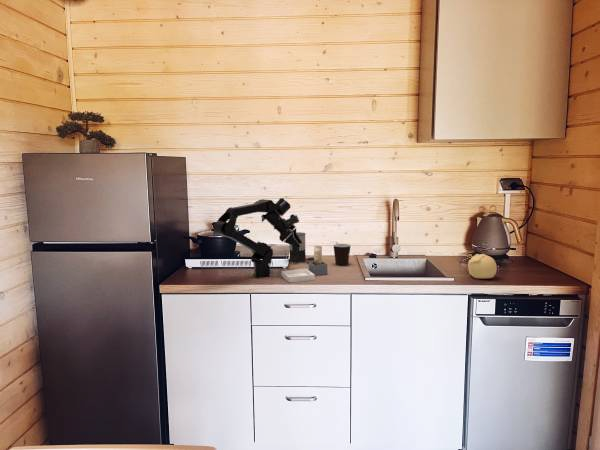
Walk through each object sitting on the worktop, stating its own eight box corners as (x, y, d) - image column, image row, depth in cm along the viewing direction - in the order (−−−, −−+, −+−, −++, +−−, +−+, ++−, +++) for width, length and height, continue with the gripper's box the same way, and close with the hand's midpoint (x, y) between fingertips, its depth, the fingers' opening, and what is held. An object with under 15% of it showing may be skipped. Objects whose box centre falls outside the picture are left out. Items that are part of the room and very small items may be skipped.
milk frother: (287, 259, 241) (287, 232, 239) (316, 257, 244) (316, 231, 242) (291, 265, 227) (291, 236, 225) (322, 263, 230) (321, 235, 228)
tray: (289, 282, 195) (288, 277, 194) (281, 276, 206) (281, 270, 206) (314, 280, 199) (314, 274, 198) (306, 273, 210) (305, 268, 209)
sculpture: (468, 273, 208) (469, 250, 206) (497, 276, 202) (498, 252, 201) (465, 279, 198) (466, 255, 196) (495, 282, 192) (496, 257, 191)
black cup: (344, 267, 222) (344, 247, 220) (330, 265, 227) (330, 245, 225) (356, 262, 231) (356, 243, 229) (342, 260, 236) (342, 242, 234)
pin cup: (313, 275, 206) (313, 265, 205) (308, 272, 212) (308, 262, 212) (327, 274, 208) (327, 264, 207) (322, 271, 214) (322, 261, 214)
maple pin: (315, 274, 208) (315, 247, 206) (313, 272, 211) (313, 246, 209) (323, 274, 209) (322, 246, 207) (320, 272, 212) (320, 245, 210)
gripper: (286, 211, 198) (311, 236, 198) (291, 207, 216) (314, 229, 217) (269, 229, 200) (293, 253, 200) (275, 223, 218) (298, 245, 219)
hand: (300, 245), depth 209 cm, fingers open, 9 cm apart
